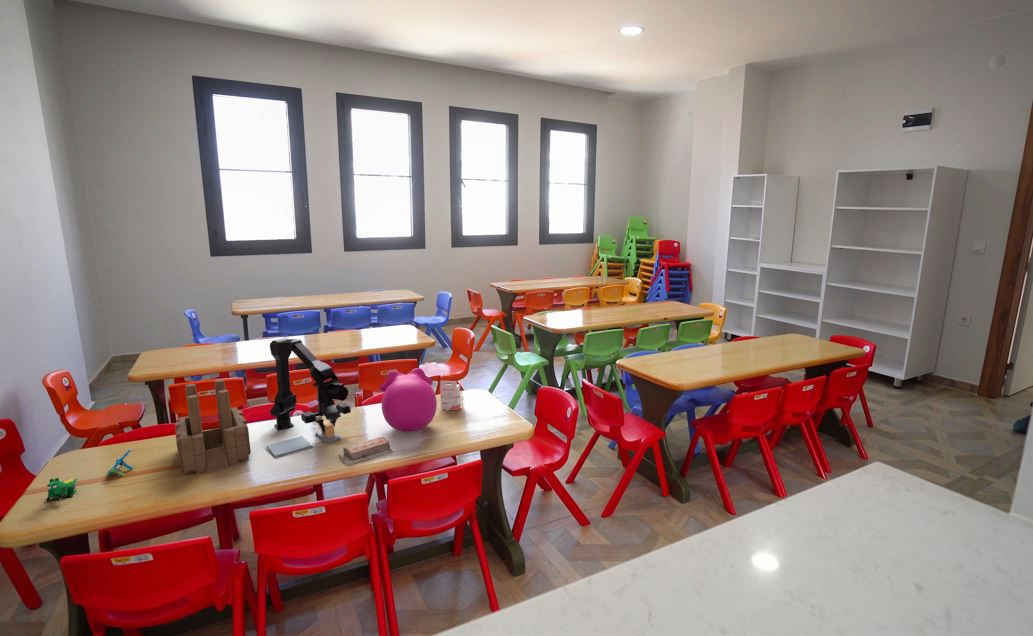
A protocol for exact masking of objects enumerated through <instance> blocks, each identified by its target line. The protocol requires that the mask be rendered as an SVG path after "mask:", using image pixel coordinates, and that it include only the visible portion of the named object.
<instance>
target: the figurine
mask: <svg viewBox="0 0 1033 636" xmlns="http://www.w3.org/2000/svg"><path fill="white" fill-rule="evenodd" d="M433 382H434V381H433V379H431V378H429V377H428V376H427V375H426V373H425V371H424V370H423V369H422V368H420V367H417V368H413V369H412V370H411V371H410V372H409V373H407V374H404V373H402V372H400V371H398V370H391V371H389V372H388V373H387V375H386V377H385V381H384V382H383V383H382V384H380V385H379V387H378V389H379V391H380V392H384V393H383V395H382V398H381V411H382V415H383V418H384V420H385V422H386V423H387V424H388V425H389V426H390V427H391V428H392V429H394V430H396V431H399V432H402V433H412V432H413V433H414V432H417V431H421V430H423V429H425V428H427V426H428V425H429V424H430V423H431V422H432V421H433V419H434V417H435V415H436V413H437V405H438V403H437V401H438V400H437V395H436V392H435V389H434V388H433V387H432V385H433Z"/></svg>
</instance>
